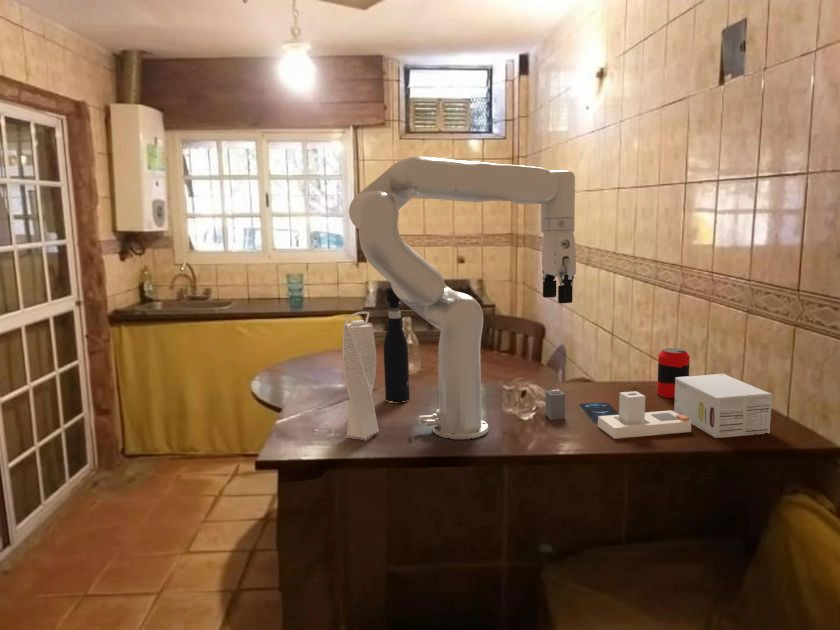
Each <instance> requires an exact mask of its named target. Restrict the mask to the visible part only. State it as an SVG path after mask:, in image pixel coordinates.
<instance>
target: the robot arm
mask: <svg viewBox="0 0 840 630" xmlns="http://www.w3.org/2000/svg"><path fill="white" fill-rule="evenodd" d="M413 198H417V199H418V198H419V199H427V200H428V199H430V200H431V199H432V200H442V201H444V200H445V201H456V202H465V203H466V202H467V203H472V202H473V203H484V202H495V201H496V202H498V201H499V202H501V201H502V202H512V203H513V204H517V205H540V233H541V234H543V236H542V246H541V247H542V249H541V250H542V252H541V269H542V270H541V271H542V272H541V273H542V278H541V279H542V297H543V298H545V299H547V298H556V297H557V302H558V303H559V304H572V303H573V289H574V287H573V285H574V278H575V275H576V274H577V256H576V255H577V254H576V250H577V249H576V241H575V239H576V238H575V235H574V234H575V223H576V222H575V221H576V219H575V214H576V213H575V210H576V209H575V208H576V207H575V206H576V204H575V203H576V201H575V199H576V177H575V174H574V172H573V171H571V170H566V169H565V170H563V169H562V170H549V169H547V168H544V167H536V166H529V165H527V166H526V165H516V164H515V165H514V164H502V163H501V164H500V163H491V162H483V161H482V162H480V161H468V160H459V159H458V160H456V159H449V158H439V157H429V156H410V157H406V158H405V159H400V160H399V161H396V162H395V163H393V165H391V166H390V167H389V168H388V169H386V171H384V172H383V173H382V174H381V175H379V176H378V177H377V178H375V180H374V181H372V182H371V183H370V184H368V185H367V186H366V187H365V188H364V189H362V190H361V191H360V192H359V193H358V194H357V195H355V196H354V198H353V199H352V201H351V202H350V204H349V208H348V214H349V216H348V217H349V218H350V221H351V223H352V225H354V226H355V227H356V228H357V229H358V239H359V244H360V249H361V251H362V254H363V255H364V258H365V259H366V261H367V262H368V263H369V265H371V266H372V268H373V269H374V270H376V271H377V273H379V274H380V275H381V276H382V277H383V278H384V279H386V280H387V281H388V283H390V286H391V287H390V288H392V289H393V291H394V293H395V294H396V295H397V296H398V297H399V298H400V299H401V301H402V302H403V304H406V305H407V306H408V307H409V308H410V309H411V310H412V311H414V312H415V313H416V314H417V315H418V316H420V317H421V318H423V319H424V320H425V321H426V322H428V323H429V324H430V325H432V326H433V327H434V328H436V329H438V330H440V334H439V340H438V346H437V366H438V367H437V368H438V369H437V370H438V373H437V374H438V408H436V410H435V412H434V413H432V414H430V415H429V414H424V415H418V424H420V425H424V424H425V425H426V427H430V426H432V431H433V433H434V434H435V435H436V436H438V435H439V437H442V438H445V439H448V438H450V439H451V440H472V439H476V438H480V437H482V436H484V435H486V434H487V433H488V432H489V425H488V423H487V422H486V421H485V420H483V419H482V390H481V389H482V386H481V385H482V375H481V374H482V368H481V364H482V363H481V347H482V345H481V343H482V335H483V328H484V327H483V326H484V312H483V309H482V307H481V304H480V303H479V302H478V301H477V299H475V298H474V297H473V296H472V295H469V294H467V293H464V292H461V291H456V290H453V289H452V288H451V287H449V286H448V285H447V284H446V283H445V279H444V277H443V275H442V274H441V272H440V271H439V269H437V267H435V266H433V265H432V264H431V263H430V262H429V261H427V260H426V259H425V258H423V257H422V256H421V255H420V254H419V253H418V252H416V251H415V250H414V249H413V248H412V247H411V246H410V245H409V244H408V243H407V242H406V241H405V239H404V238H402V236H401V234H400V231H399V217H400V216H399V213H400V212H399V210H400V209H402V208H403V207H404V206H405V205H406V204H407V203H409V201H410V200H411V199H413ZM556 277H557V278H558V279H557V280H556ZM557 281H558V283H559V285H558V286H557ZM557 292H558V293H557ZM471 438H472V439H471Z"/></svg>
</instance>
